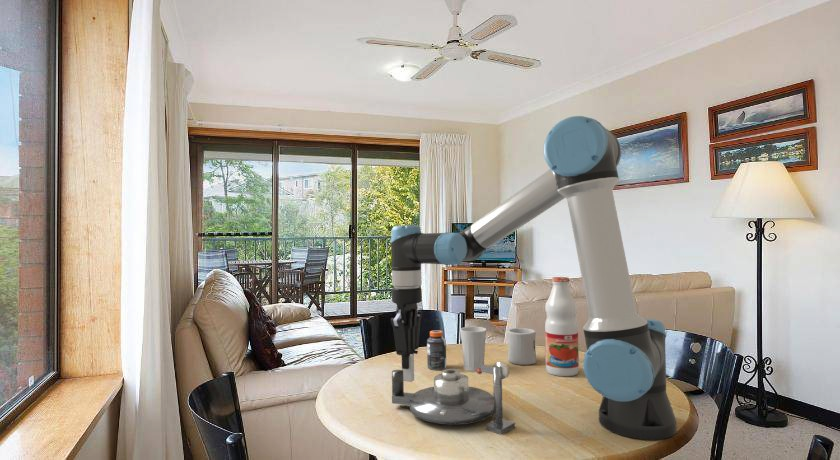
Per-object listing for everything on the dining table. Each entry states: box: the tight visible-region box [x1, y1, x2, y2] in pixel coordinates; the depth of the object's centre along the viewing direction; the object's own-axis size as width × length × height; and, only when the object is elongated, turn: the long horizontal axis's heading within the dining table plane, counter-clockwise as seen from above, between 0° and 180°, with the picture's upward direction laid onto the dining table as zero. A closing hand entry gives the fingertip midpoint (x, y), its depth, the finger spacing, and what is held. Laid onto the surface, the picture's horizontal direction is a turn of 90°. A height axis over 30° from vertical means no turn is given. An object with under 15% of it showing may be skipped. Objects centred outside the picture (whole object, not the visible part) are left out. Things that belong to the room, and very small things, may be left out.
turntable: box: [391, 369, 494, 425], centre depth 111 cm, size 25×20×7 cm
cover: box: [433, 368, 469, 406], centre depth 110 cm, size 8×8×7 cm
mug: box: [507, 327, 537, 366], centre depth 153 cm, size 12×9×10 cm
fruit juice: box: [544, 276, 580, 377], centre depth 139 cm, size 9×9×28 cm
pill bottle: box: [426, 329, 447, 371], centre depth 146 cm, size 6×6×11 cm
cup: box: [459, 326, 487, 372], centre depth 145 cm, size 8×8×12 cm
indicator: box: [476, 361, 516, 436], centre depth 102 cm, size 8×5×14 cm, turn 45°
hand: (408, 380), depth 119 cm, fingers closed
